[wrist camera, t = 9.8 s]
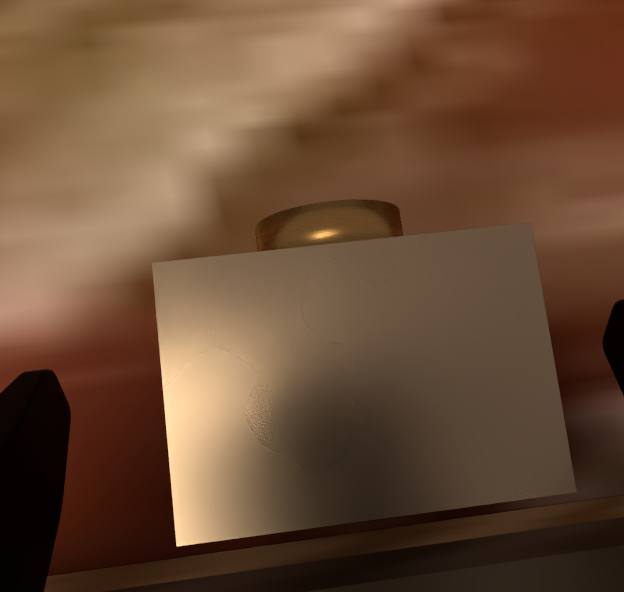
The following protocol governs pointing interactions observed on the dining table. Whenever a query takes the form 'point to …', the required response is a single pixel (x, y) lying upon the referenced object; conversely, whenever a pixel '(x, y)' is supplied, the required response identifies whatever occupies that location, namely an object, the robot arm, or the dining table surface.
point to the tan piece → (404, 559)
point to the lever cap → (356, 374)
